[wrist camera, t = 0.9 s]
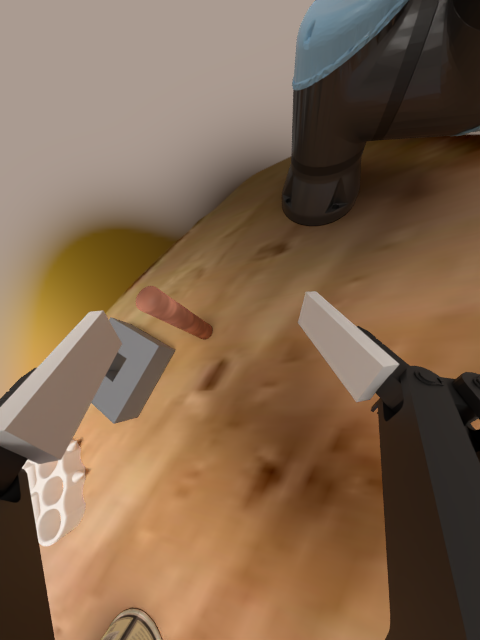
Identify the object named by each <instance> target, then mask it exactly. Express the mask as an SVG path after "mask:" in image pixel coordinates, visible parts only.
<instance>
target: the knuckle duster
mask: <svg viewBox="0 0 480 640" xmlns="http://www.w3.org/2000/svg"><path fill="white" fill-rule="evenodd" d="M80 453H81V448H80V446H79V444H78V443H77V441H75V440H73V439H72V440H71V442H70V444H69V446H68V448H67V450H66V452H65V453H64V455H63V457H62V459H61V460H58V461H53V462H48V463H43V464H37V463H35V462H33V461H30V460H27V461H26V463H25V464H24V466H23V467H22V469H25V471H26V472H27V475H28V481H29V488H30V494H31V500H32V506H33V512H34V518H35V524H36V530H37V536H38V542H39V543H40V544H41V545H43V546H50V545H52V544H54V543H55V542H57V541H58V540H60V539H61V538H62V537H64V536H65V535H66V534H68V533H69V532H71V531H72V530H73V529H75V528H76V527H77V526H78V525H79V523H80V522H81V520H82V518H83V515H84V512H85V507H86V503H85V501H84V498H83V486H84V482H85V466H84V465H83V463H82V461H81V456H80ZM62 483H63V488H62ZM60 516H61V520H60Z"/></svg>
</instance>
